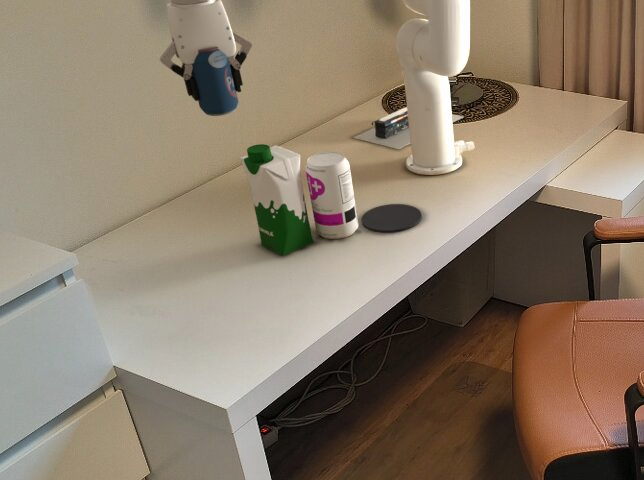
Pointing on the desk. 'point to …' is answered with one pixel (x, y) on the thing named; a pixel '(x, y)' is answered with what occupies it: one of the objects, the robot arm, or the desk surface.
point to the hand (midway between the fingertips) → (216, 93)
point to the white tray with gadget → (392, 130)
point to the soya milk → (278, 197)
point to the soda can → (214, 82)
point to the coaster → (391, 218)
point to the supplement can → (331, 195)
